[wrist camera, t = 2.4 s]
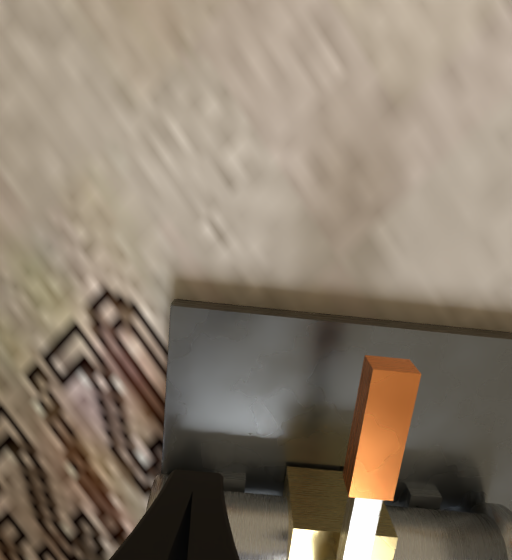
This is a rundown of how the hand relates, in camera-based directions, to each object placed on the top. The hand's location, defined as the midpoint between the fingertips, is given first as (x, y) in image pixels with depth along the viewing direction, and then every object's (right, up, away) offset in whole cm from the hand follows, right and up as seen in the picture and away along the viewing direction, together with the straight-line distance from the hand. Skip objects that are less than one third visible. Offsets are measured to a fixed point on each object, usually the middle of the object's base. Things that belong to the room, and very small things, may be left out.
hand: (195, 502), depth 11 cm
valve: (+7, -5, +11) cm, 14 cm away
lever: (+6, -2, +5) cm, 8 cm away
